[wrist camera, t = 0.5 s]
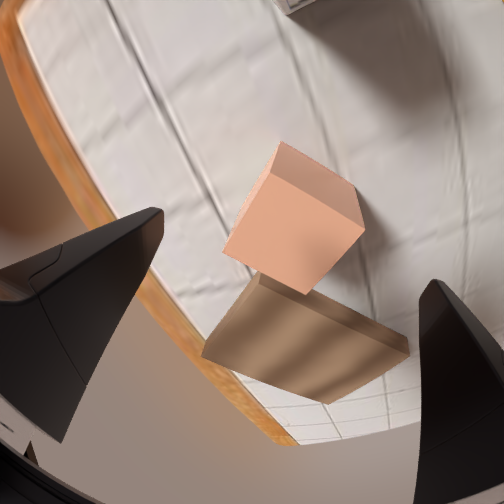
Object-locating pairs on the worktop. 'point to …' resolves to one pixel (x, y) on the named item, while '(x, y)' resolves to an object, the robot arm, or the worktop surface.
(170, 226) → the worktop surface
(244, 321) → the walnut block
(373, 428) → the worktop surface
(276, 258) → the terracotta cube
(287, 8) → the light bulb box
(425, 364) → the robot arm
